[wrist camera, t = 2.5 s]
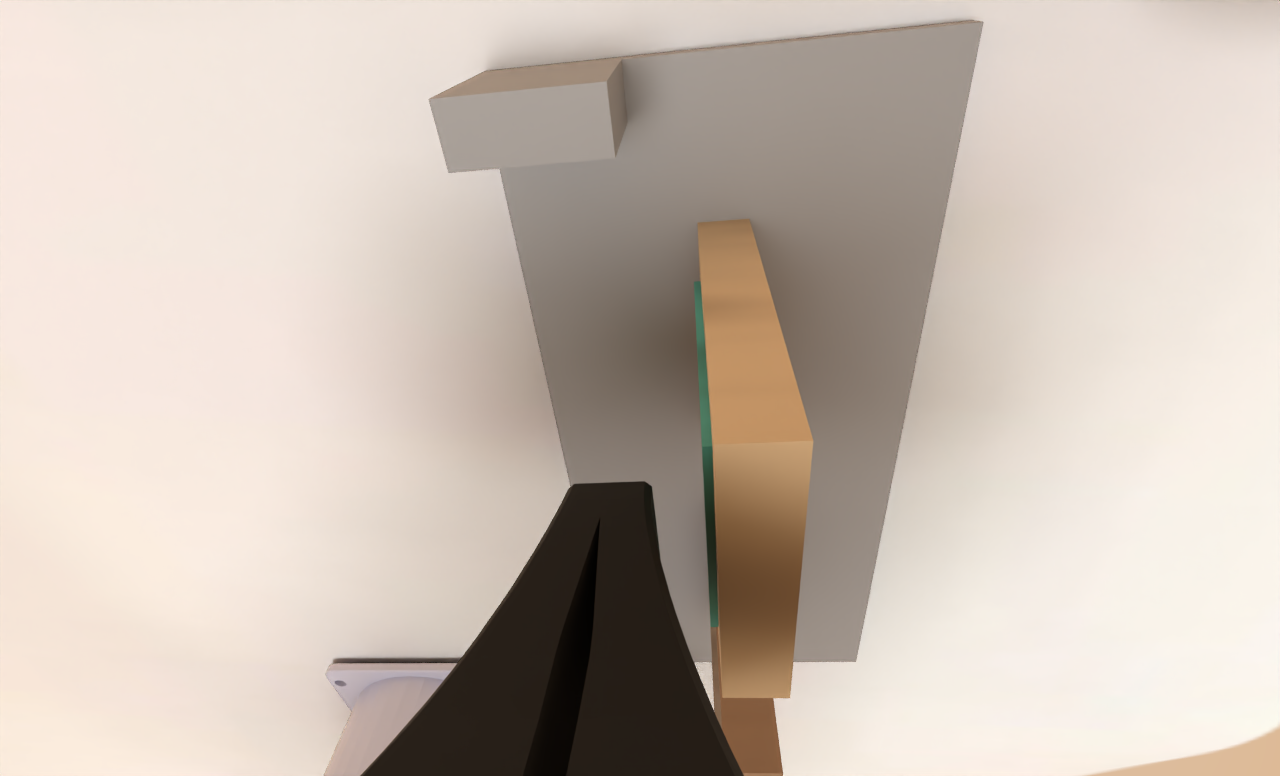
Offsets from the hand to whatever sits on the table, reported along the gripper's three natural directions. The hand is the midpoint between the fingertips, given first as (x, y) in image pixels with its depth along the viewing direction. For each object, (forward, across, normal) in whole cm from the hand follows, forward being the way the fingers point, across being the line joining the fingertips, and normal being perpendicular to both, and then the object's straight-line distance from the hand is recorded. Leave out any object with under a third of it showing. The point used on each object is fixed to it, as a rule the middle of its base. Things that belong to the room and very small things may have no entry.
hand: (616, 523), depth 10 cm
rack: (+7, -2, +4) cm, 9 cm away
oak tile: (+6, -2, 0) cm, 7 cm away
